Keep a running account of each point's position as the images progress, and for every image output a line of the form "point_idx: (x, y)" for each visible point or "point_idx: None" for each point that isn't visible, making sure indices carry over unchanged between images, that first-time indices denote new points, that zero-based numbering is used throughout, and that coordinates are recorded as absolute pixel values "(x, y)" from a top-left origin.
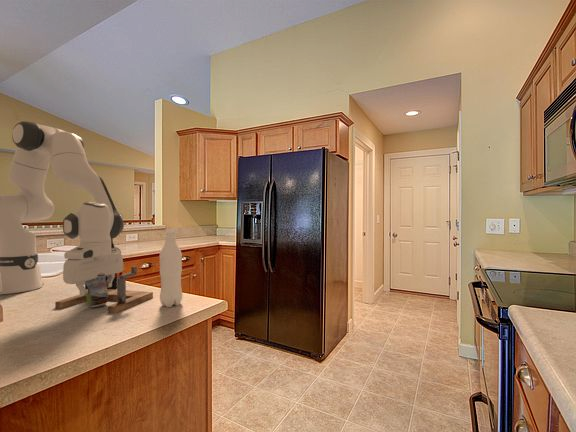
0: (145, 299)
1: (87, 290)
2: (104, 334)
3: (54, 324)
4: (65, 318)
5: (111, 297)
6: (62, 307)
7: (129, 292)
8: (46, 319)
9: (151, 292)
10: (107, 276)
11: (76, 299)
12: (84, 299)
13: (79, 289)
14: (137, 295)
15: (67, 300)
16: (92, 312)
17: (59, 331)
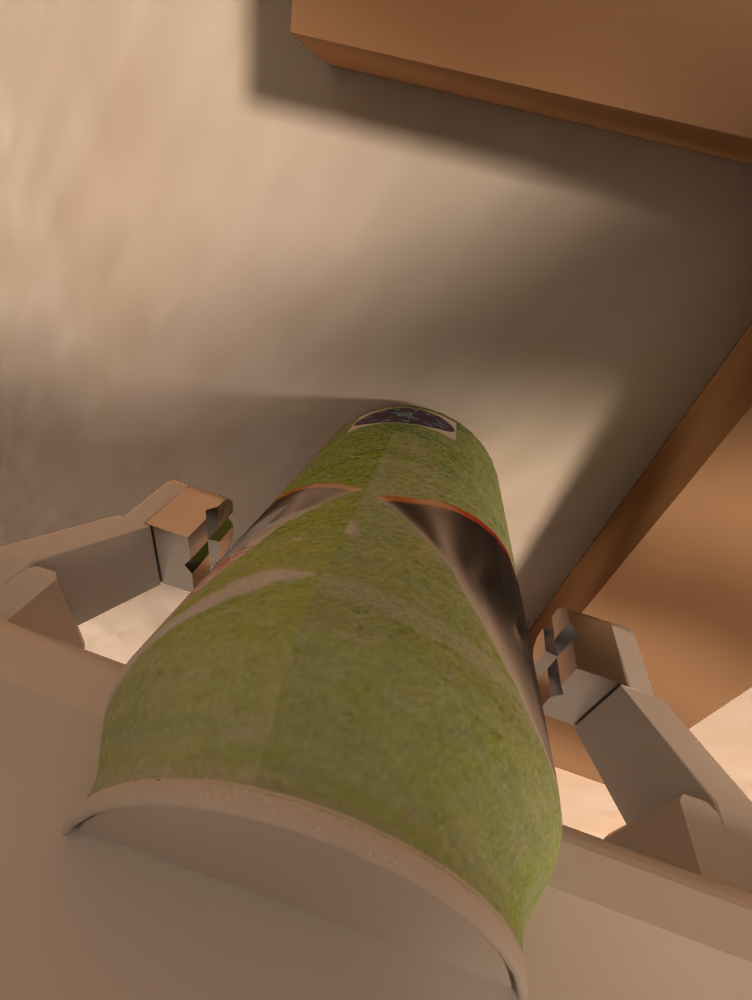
0: None
1: (198, 575)
2: (85, 646)
3: (29, 393)
4: (121, 390)
5: (623, 530)
6: (322, 58)
7: (667, 675)
8: (38, 227)
9: (596, 779)
10: (667, 815)
11: (559, 98)
12: (705, 147)
13: (110, 526)
14: None
15: (407, 20)
16: (266, 507)
17: (5, 489)
